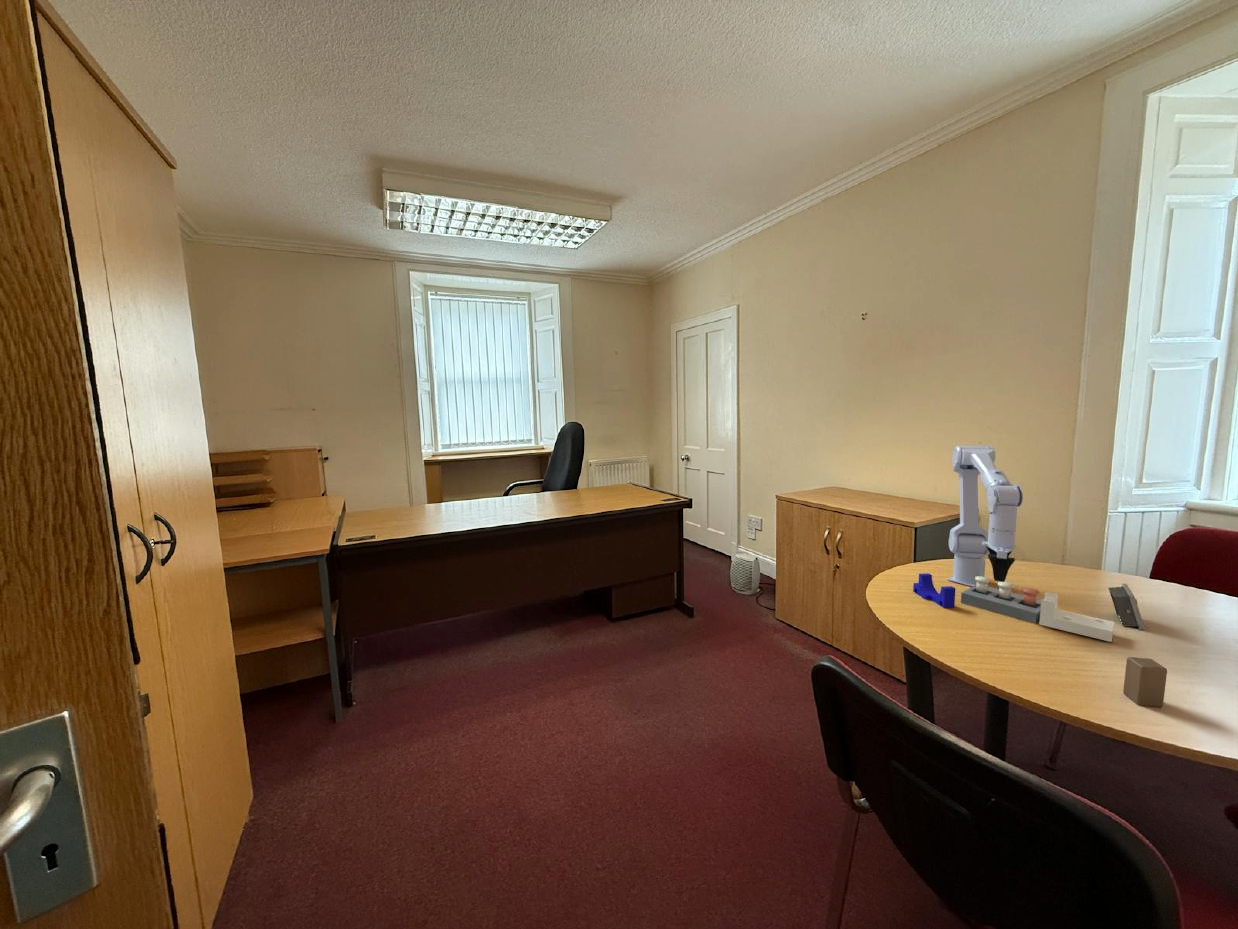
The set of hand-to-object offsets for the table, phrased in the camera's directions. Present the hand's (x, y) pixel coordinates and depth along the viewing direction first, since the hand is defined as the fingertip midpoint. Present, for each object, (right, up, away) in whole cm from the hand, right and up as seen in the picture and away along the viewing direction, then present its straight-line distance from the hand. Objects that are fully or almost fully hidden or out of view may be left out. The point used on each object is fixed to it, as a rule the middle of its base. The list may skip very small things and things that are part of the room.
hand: (998, 576), depth 131 cm
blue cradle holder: (-12, -10, +10) cm, 18 cm away
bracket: (+11, -12, -11) cm, 19 cm away
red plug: (+7, -7, -2) cm, 10 cm away
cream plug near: (+1, -6, +7) cm, 9 cm away
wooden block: (-3, -15, -39) cm, 42 cm away
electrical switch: (+28, -10, -7) cm, 30 cm away
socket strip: (+4, -10, +3) cm, 11 cm away
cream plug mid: (+4, -6, +3) cm, 8 cm away
